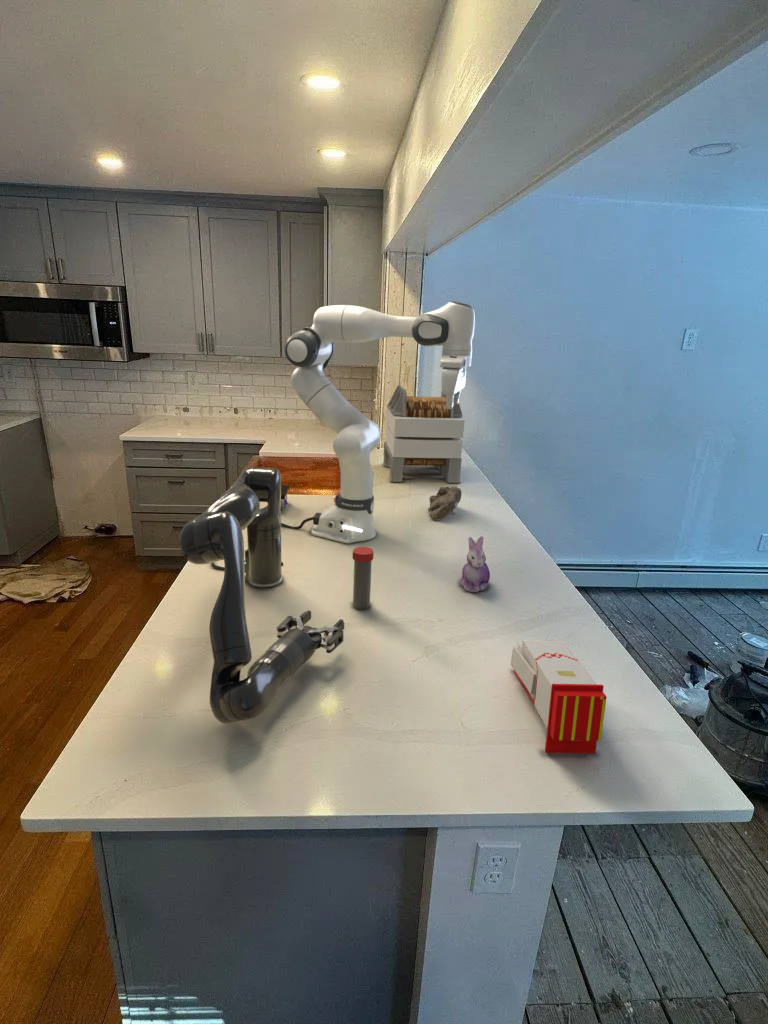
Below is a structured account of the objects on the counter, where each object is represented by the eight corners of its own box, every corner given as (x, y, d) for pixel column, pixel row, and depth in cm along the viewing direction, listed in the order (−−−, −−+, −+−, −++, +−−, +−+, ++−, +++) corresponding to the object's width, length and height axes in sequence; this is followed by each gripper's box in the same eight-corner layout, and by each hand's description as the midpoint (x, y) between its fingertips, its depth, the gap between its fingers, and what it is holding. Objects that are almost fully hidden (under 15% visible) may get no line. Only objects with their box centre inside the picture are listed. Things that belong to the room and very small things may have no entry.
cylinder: (370, 601, 153) (372, 548, 148) (369, 609, 149) (371, 556, 144) (353, 600, 153) (354, 548, 148) (352, 609, 149) (354, 555, 144)
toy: (559, 623, 127) (616, 692, 98) (553, 678, 130) (607, 761, 101) (505, 622, 127) (547, 691, 98) (501, 677, 130) (540, 760, 100)
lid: (373, 554, 149) (373, 546, 148) (373, 563, 144) (373, 555, 143) (353, 553, 149) (353, 545, 148) (352, 562, 144) (352, 554, 143)
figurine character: (285, 517, 214) (290, 500, 227) (284, 499, 210) (289, 483, 224) (267, 517, 213) (273, 500, 227) (266, 498, 210) (272, 482, 223)
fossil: (424, 492, 232) (454, 472, 227) (437, 509, 235) (468, 490, 230) (422, 516, 212) (456, 495, 207) (437, 534, 215) (470, 514, 210)
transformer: (382, 463, 289) (386, 382, 275) (445, 464, 293) (451, 384, 279) (390, 482, 257) (394, 392, 243) (460, 483, 261) (468, 394, 247)
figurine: (471, 596, 158) (477, 546, 153) (451, 580, 166) (455, 533, 161) (498, 590, 162) (504, 541, 157) (477, 575, 171) (482, 529, 166)
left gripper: (318, 647, 114) (353, 611, 128) (258, 630, 119) (299, 597, 133) (317, 679, 117) (352, 639, 131) (259, 660, 122) (299, 624, 136)
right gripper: (452, 356, 179) (448, 400, 184) (439, 361, 161) (435, 410, 166) (472, 358, 178) (468, 402, 182) (461, 363, 159) (456, 412, 164)
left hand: (325, 618), depth 132 cm, fingers open, 8 cm apart
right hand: (452, 406), depth 174 cm, fingers open, 8 cm apart
